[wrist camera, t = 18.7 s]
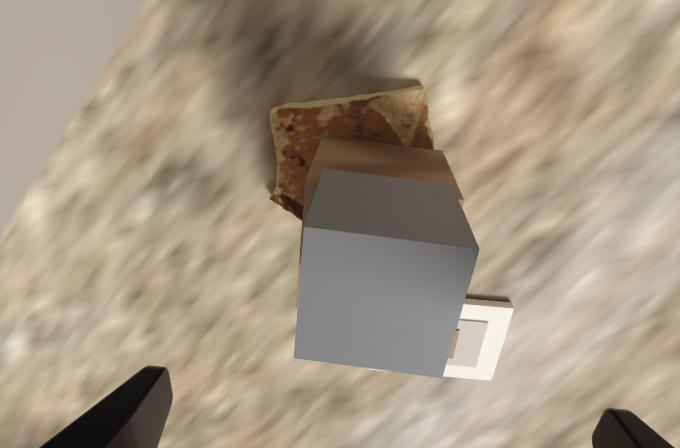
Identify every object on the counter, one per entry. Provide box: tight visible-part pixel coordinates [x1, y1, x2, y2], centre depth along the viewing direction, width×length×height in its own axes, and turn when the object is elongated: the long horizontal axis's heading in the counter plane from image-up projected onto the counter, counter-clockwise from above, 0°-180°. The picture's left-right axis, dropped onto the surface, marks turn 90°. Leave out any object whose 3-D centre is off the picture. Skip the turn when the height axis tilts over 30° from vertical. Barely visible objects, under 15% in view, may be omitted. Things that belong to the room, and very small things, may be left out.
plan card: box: [368, 298, 514, 381], centre depth 24 cm, size 7×5×1 cm
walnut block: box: [296, 136, 464, 306], centre depth 17 cm, size 5×5×5 cm
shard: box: [269, 85, 434, 220], centre depth 21 cm, size 11×8×2 cm
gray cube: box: [294, 168, 479, 378], centre depth 13 cm, size 4×4×4 cm
